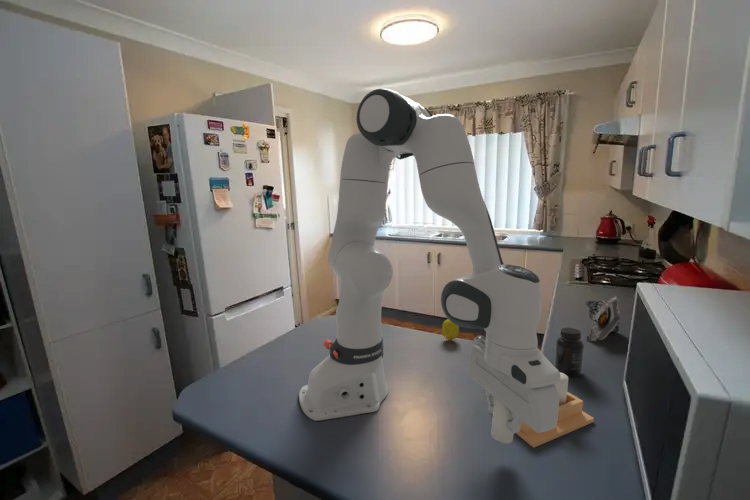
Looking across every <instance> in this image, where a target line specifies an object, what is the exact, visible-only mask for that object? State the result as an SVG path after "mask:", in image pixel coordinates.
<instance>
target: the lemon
mask: <svg viewBox="0 0 750 500" xmlns="http://www.w3.org/2000/svg"><path fill="white" fill-rule="evenodd" d="M441 325H442V326H441V333H442V336H443V337H444V338H445V339H446V340H448V341H449V342H450V341H453V340H455V339H457V337H458V335H459V333H460V331H459V330H460V326H458V325H455V324H454V323H452V322H451V321H450V320H449V319H448V318H447V319H446V320H444V321H443V323H442V324H441ZM445 336H446V337H445Z"/></svg>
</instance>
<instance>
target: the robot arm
mask: <svg viewBox="0 0 750 500" xmlns="http://www.w3.org/2000/svg"><path fill="white" fill-rule="evenodd" d="M356 124H357V125H356V126H357V128H358V131H359V132H356V133H354V134H352V135H350V136H349V138H348V139H347V140H346V144H345V147H344V152H343V155H342V162H341V168H340V169H341V170H340V175H339V176H340V177H339V190H338V200H337V201H338V204H337V213H336V219H335V225H334V227H333V233H332V238H331V242H330V243H331V244H330V247H329V249H328V253H327V259H328V265H329V268H330V270H331V271H332V272H333V274H334V275H335V276H337V277H338V279H339V285H340V291H339V300H338V304H337V307H336V310H335V319H336V321H335V322H336V325H335V326H336V338H335V340H334V342H332V340H331V339H329V338H328V339H325V340H324V342H323V346H324V347H325V348H326V350H328V351H329V355H327V356H326V357H325V358H324V359H323V360H322V361H321V362H319V363H318V364H317V365H316V366H315V367H314V368H313V369H312V370H311V371H310V373H309V375H308V381H307V384H306V385H305V384H304V385H303V386H302V387H301V389H300V390H299V395H298V400H299V405H300V407H301V410H302V411H303V413H304V414H305V415H306V417H308V418H309V419H311V420H313V421H315V422H317V421H318V422H319V421H324V420H331V419H332V420H333V419H337V418H344V417H350V416H356V415H360V414H361V415H362V414H366V413H374V412H377V411H378V410H379V409H380V407H381V404H382V402H383V401H384V399H385V398H387V396H388V394H389V386H388V384H387V380H386V377H385V371H384V364H383V358H384V338H383V337H382V306H383V301H384V297H385V292H386V290H387V288H388V287H389V286H390V284H391V281H392V279H393V276H394V269H393V265H392V262H391V261H390V259H389V258H388V256H387V255H386V254H385V252H383V251H382V250H381V248H379V247H376V246H375V242H376V238H377V234H378V231H379V228H380V226H381V224H382V222H383V221H384V219H385V216H386V206H387V205H386V204H387V196H388V195H387V193H388V182H389V180H388V179H389V170H390V166H391V163H392V161H393V160H394V159H395V158H396V159H397V160H403V159H404V160H405V159H407V158H410V157H414V159H415V162H416V167H417V173H418V181H419V184H420V189H421V193H422V197H423V200H424V201H425V202H424V203H425V204H426V206H427V207H428V208H429V210H430V211H432V212H433V213H434V214H436V215H438V216H439V217H441V218H444V219H445V220H447V221H449V222H451V223H453V224H454V225H455V226H456V227H457V228H458V229H459V230H460V231H461V233H462V235H463V237H464V240H465V244H466V247H467V248H466V249H467V250H468V254H469V258H470V262H471V265H472V272H471V274H469V275H468V274H467V275H464V276H461V277H457V278H455V279H453V280H451V281H449V282H447V283H445V285H444V287H443V289H442V291H441V295H440V303H441V304H440V305H441V309H442V311H443V313H444V315H445V317H446V318H447V319H449V320H450V321H451V322H452V323H454V324H455V325H458V327H462V328H467V329H474V330H475V329H476V330H484V331H485V336H483V335H477V336H476V337H475V338H474V339H473V342H472V343H473V345H472V347H471V348H470V352H469V357H468V362H467V372H468V375H469V377H470V378H471V379H473V380H474V381H475V382H476V383H477V384H478V385H480V386H481V387H482V388H483V389H484V394H485V397H486V400H487V401H486V402H487V405H488V406H487V407H488V408H487V411H488V412H489V413H490V414H491V415H493V407H494V397H495V398H497V399H498V400H499V401H500V402H501V403H502V404H503V405H505V406H506V407H507V408H508V409H509V410H511V411H512V416H513V417H515V418H514V419H512V420H508V421H507V428H508V429H509V430H510V431H511V432H512V433H513V434H514V435H515V434H516V433H518V432H519V431H520V426H521V424H522V423H523V422H525V423H526V424H527V425H528V426H529V427H531V428H532V429H533V430H534V431H535V432H537V433H541V432H546V431H549V430H552V429H553V428H555V427H556V425H557V421H558V413H559V393H558V390H557V388H556V386H555V385H554V384H556V383H558V382H559V381H560V372H559V371H558V370H557V369H556V368H555V367H554V365H553V364H552V362H551V361H549V359H548V358H547V357H546V356H545V355H544V354H543V353H542V351H541V350H540V349H539V347H538V345H539V344H538V343H539V341H538V340H539V339H538V334H537V331H538V328H539V325H540V323H541V316H542V306H543V305H542V302H543V299H542V298H543V294H542V293H543V292H542V283H541V281H540V280H541V279H540V278H539V277H538V275H537V274H536V273H535V272H533V271H532V270H530V269H528V268H525V267H523V266H520V265H516V264H515V265H512V264H508V263H507V264H505V263H504V262H503V258H502V255H501V251H500V248H499V244H498V240H497V237H496V233H495V230H494V225H493V222H492V219H491V215H490V213H489V210H488V207H487V205H486V203H485V200H484V197H483V195H482V191H481V188H480V184H479V180H478V175H477V170H476V166H475V165H476V164H475V161H474V156H473V152H472V148H471V145H470V141H469V138H468V136H467V133H466V130H465V129H464V125H463V123H462V122H461V120H460V119H459V118H458V117H457V116H455V115H453V114H449V113H443V114H442V113H440V114H436V115H433V114H432V113H431V112H430V111H429V110H428V109H427V108H425V107H423V106H422V105H421V104H420V103H419V102H417V101H415V100H414V99H413V98H410V97H407V96H404V95H402V94H400V93H399V92H397V91H395V90H392V89H388V88H377V89H374V90H372V91H370V92H368V93H366V95H365V96H363V98H362V99H361V101H360V102H359V105H358V108H357V111H356Z"/></svg>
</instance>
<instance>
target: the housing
mask: <svg viewBox="0 0 750 500" xmlns="http://www.w3.org/2000/svg"><path fill="white" fill-rule="evenodd" d="M554 385H555V386H556V388H557V390H558V393H559V413H558V421H557V425H556V427H555V428H553V429H552V430H549V431H546V432H541V433H537V432H535V431H534V430H533V429H532V428H531V427H529V426H528V425H527V424H526V423H525V422H523V423H522V424H521V426H520V431H519V432H518V433H515V434H516V435H517V436H518V437H520V438H521V439H522V440H523V441H524V442H526V443H527V444H528V445H530V446H531V447H532V448H533V449H534V448H536V447H539V446H542V445H543V444H545V443H548V442H551V441H553V440H555V439H557V438H560V437H563V436H564V435H567V434H569V433H571V432H573V431H576V430H578V429H581V428H583V427H585V426H587V425H590V424H592V423H594V421H595V420H594V419H595V418H594V417H593V416H591V415H589V414H588V413H586V412H585V411H583V407H584V405H583V404H584V400H583V399H580V398H579V397H577V396H576V395H574V394H572V393H571V392H569V391H568V387H569V386H568V385H569V376H567V375H565V374H564V373H561V372H560V381H559V382H558V383H556V384H554Z"/></svg>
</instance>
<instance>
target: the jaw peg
mask: <svg viewBox="0 0 750 500" xmlns="http://www.w3.org/2000/svg"><path fill="white" fill-rule="evenodd" d="M514 418H515V417H513V416H512V411H511V410H509V409H508V408H507V407H506V406H505V405H503V404H502V403H501V402H500V401H499V400H498V399H497V398H495V397H494V407H493V414H492V420H491V432H490V435H491V437H492V439H493V440H495V441H496V442H498V443H500V444H511V443H512V442H513V441H514V435H515V433H514V434H513V433H512V432H511V431H510V430H509V429H508V428H507V421H508V420H512V419H514Z"/></svg>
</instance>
